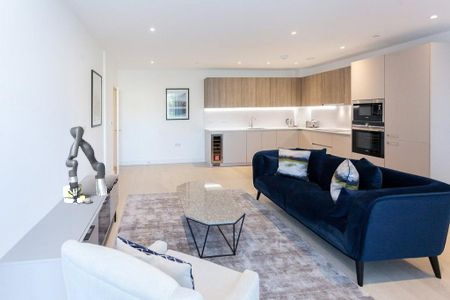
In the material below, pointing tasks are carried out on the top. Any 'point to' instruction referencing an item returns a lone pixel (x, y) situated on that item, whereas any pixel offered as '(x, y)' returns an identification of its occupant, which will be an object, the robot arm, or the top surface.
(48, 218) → the top surface
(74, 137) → the robot arm
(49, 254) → the top surface
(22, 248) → the top surface
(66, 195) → the tea box
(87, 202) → the grey rounded-end block
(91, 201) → the plate
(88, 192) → the top surface
